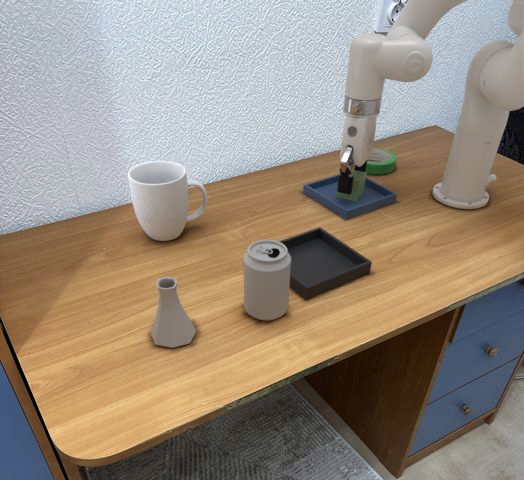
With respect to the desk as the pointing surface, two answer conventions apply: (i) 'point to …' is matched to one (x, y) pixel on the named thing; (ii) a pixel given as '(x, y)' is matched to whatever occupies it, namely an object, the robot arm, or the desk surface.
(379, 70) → the robot arm
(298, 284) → the black shallow box
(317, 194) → the tray
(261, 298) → the can
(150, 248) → the desk surface
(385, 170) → the tape roll
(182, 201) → the mug
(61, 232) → the desk surface
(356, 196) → the block
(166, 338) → the flask
